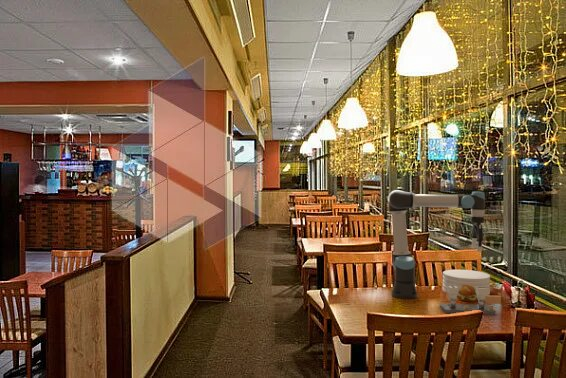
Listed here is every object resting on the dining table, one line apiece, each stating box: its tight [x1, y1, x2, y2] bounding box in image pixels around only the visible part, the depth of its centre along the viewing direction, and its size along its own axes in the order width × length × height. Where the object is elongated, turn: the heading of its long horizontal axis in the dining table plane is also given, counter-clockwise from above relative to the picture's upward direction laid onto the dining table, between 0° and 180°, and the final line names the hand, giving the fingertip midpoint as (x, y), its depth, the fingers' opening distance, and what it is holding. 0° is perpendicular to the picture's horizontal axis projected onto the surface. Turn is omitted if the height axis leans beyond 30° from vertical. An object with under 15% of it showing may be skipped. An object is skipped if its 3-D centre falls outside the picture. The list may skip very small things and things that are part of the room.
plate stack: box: [442, 269, 491, 297], centre depth 294 cm, size 28×28×12 cm
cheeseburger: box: [458, 285, 477, 302], centre depth 273 cm, size 10×11×10 cm
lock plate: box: [439, 299, 497, 316], centre depth 251 cm, size 26×12×6 cm, turn 85°
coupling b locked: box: [476, 287, 502, 305], centre depth 250 cm, size 12×4×9 cm, turn 85°
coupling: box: [445, 286, 458, 302], centre depth 255 cm, size 12×4×9 cm, turn 175°
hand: (476, 250), depth 288 cm, fingers open, 13 cm apart
